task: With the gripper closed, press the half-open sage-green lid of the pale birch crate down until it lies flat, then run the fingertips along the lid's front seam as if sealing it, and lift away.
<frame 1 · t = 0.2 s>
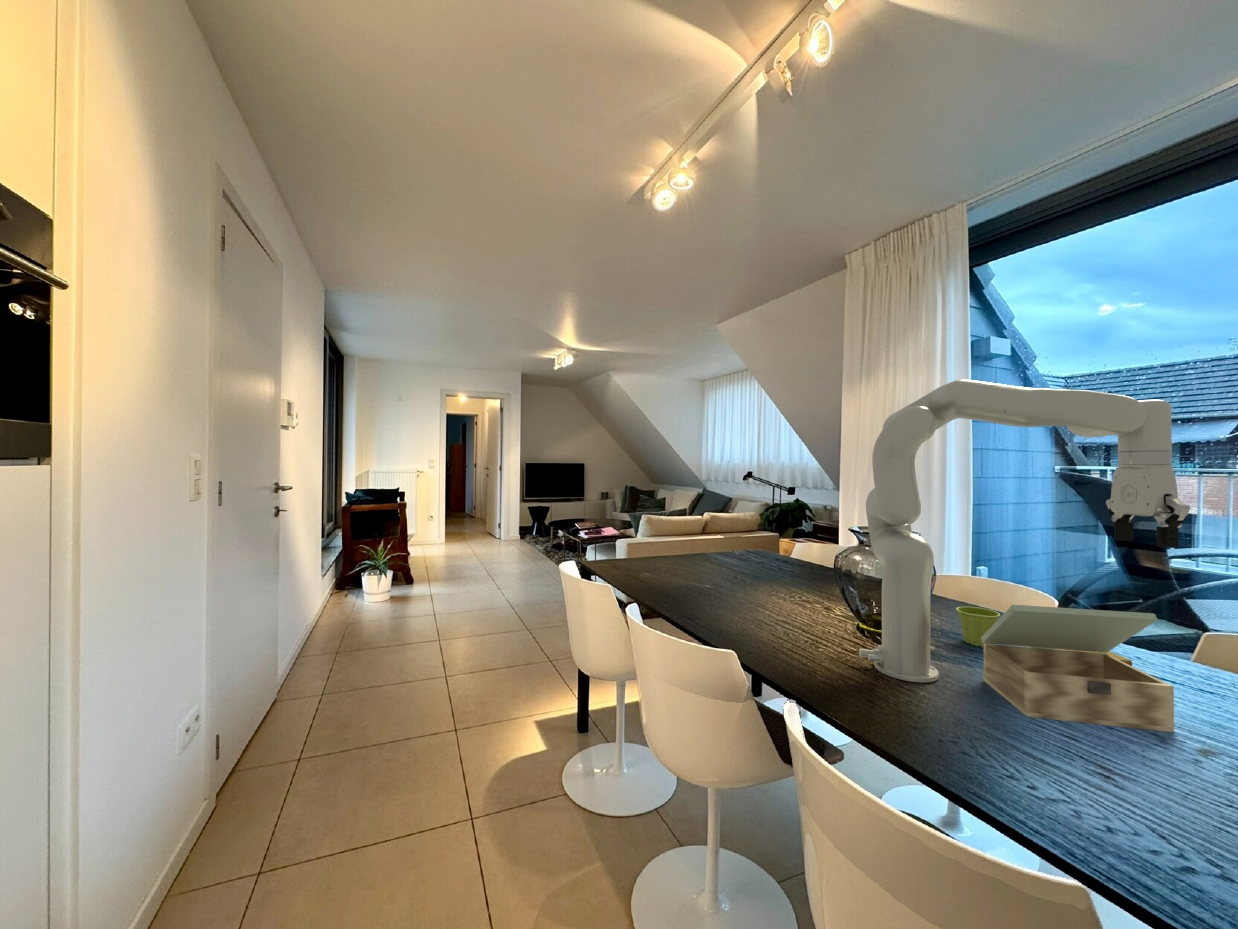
hand: (1144, 543, 99), 31 cm above the table, tool pointing down, fingers open, 9 cm apart
plant pot: (977, 644, 128), on the table
lid: (1061, 629, 97), point 14 cm above the table, hinge at 40.0°
crate: (1068, 703, 95), on the table
carton: (1079, 671, 112), on the table
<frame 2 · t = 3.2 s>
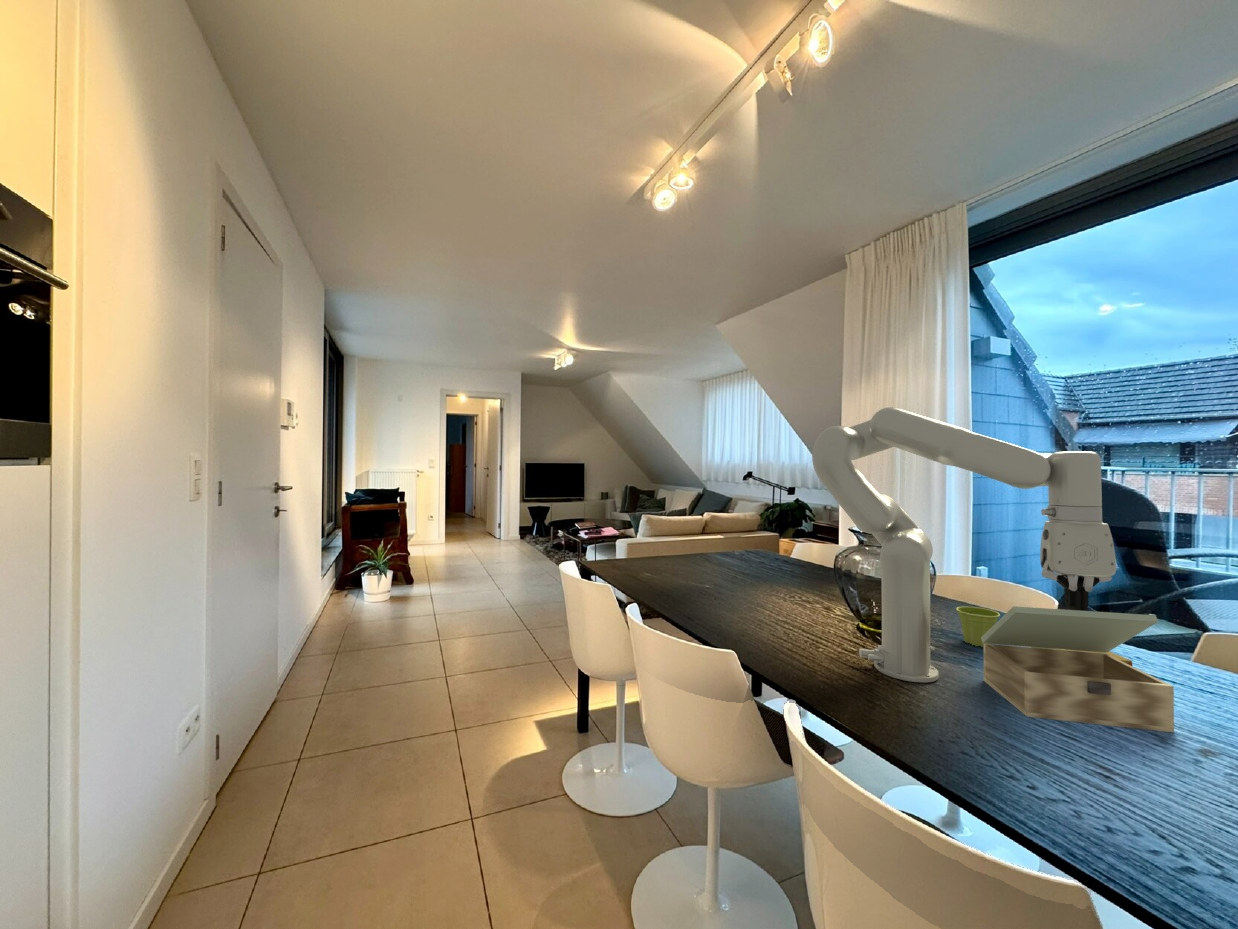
hand: (1076, 610, 93), 19 cm above the table, tool pointing down, fingers closed
lid: (1061, 630, 97), point 14 cm above the table, hinge at 38.7°
everything else where it was.
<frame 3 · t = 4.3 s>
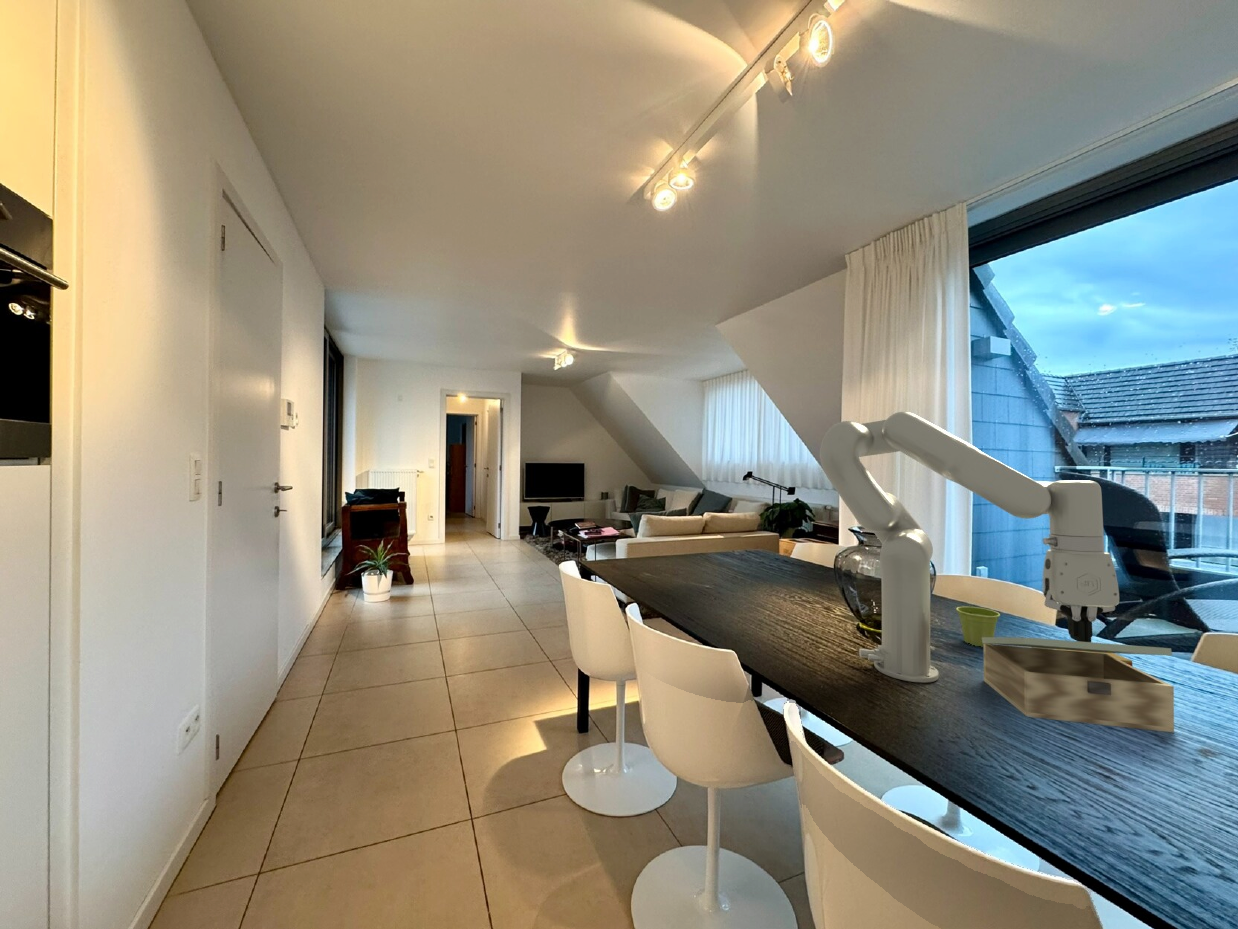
hand: (1080, 640, 93), 13 cm above the table, tool pointing down, fingers closed
lid: (1066, 645, 95), point 11 cm above the table, hinge at 18.2°, touching gripper
everything else where it was.
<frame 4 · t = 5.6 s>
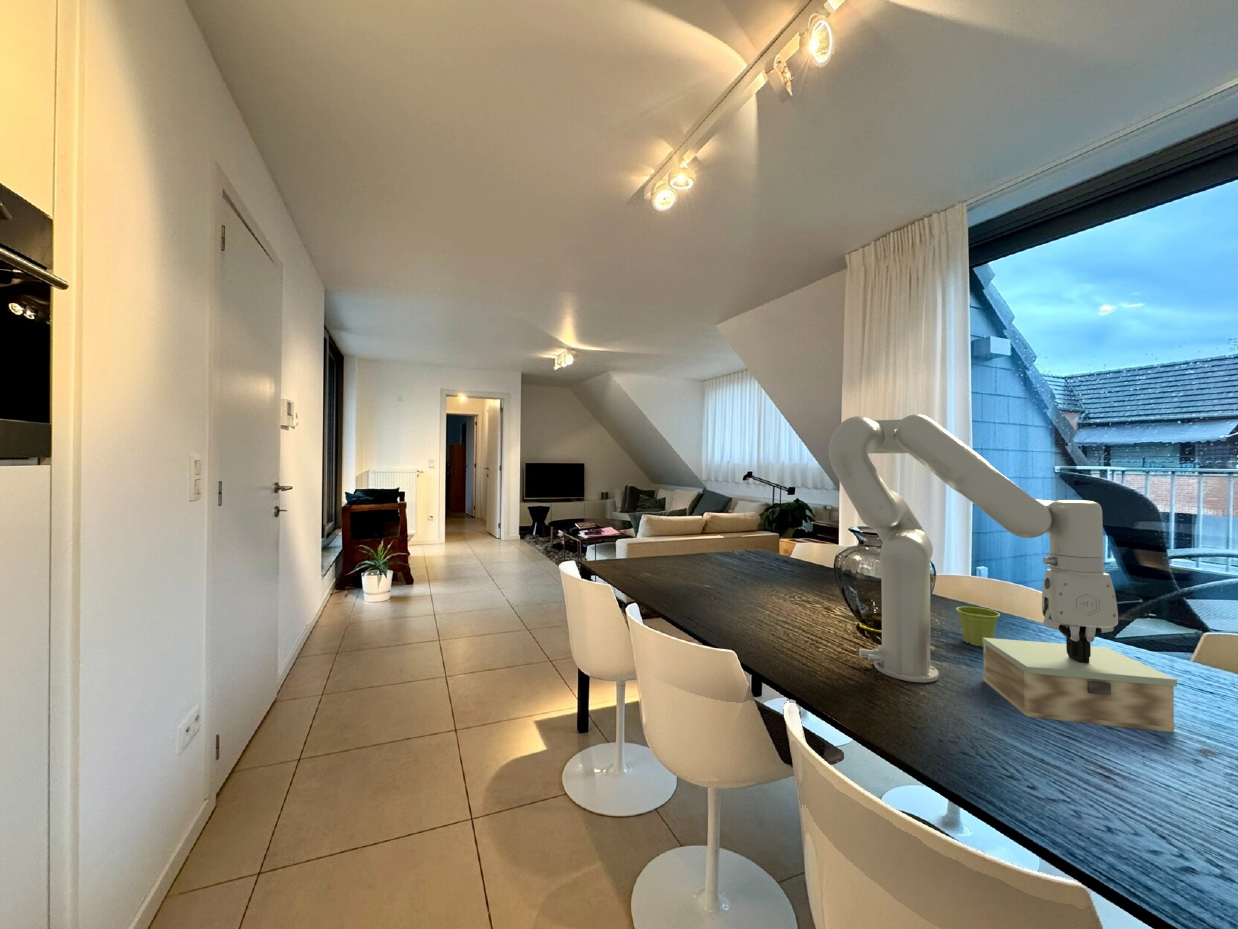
hand: (1078, 660, 93), 9 cm above the table, tool pointing down, fingers closed
lid: (1068, 659, 95), point 9 cm above the table, hinge at 0.3°, touching gripper
everything else where it was.
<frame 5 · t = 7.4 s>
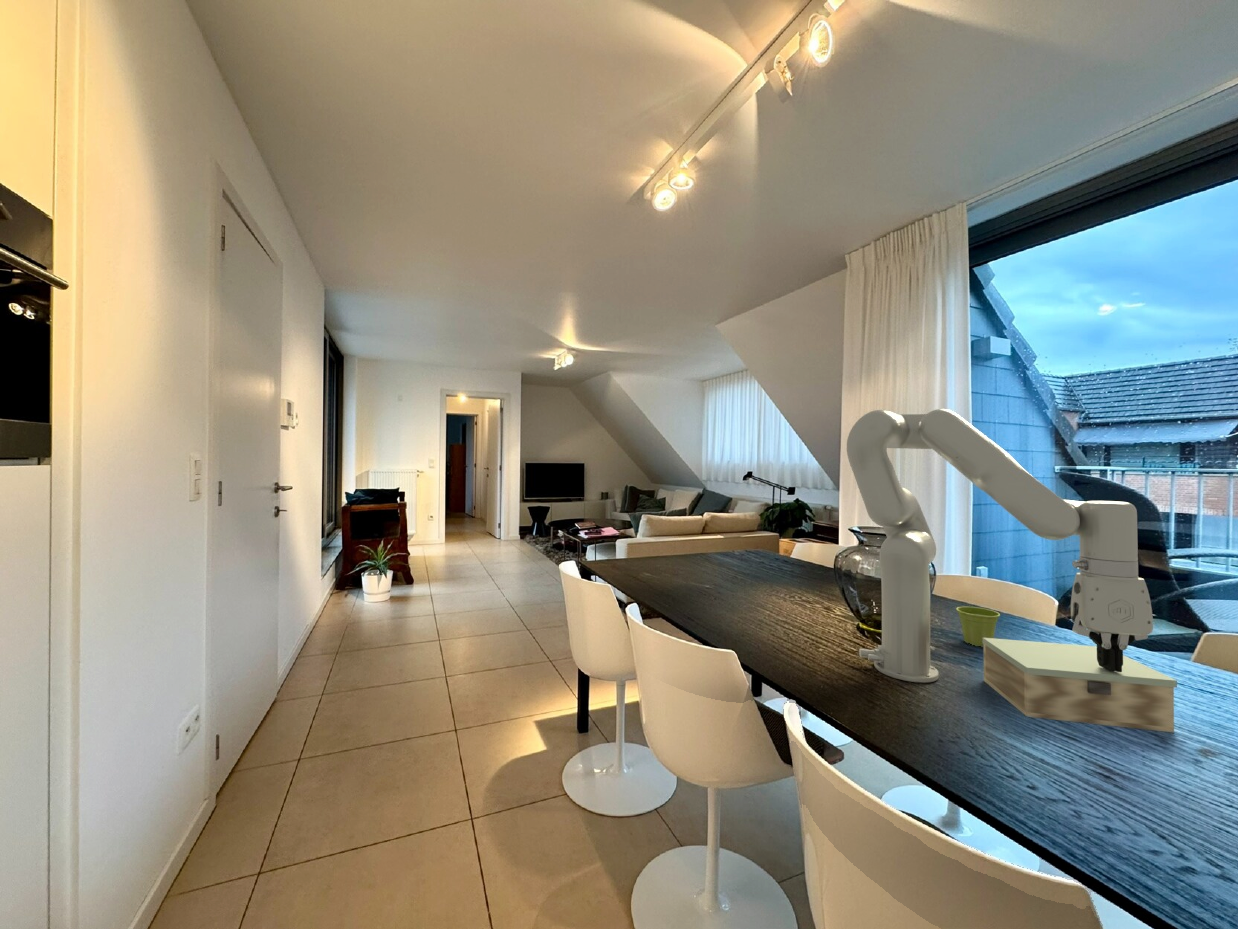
hand: (1110, 668, 88), 10 cm above the table, tool pointing down, fingers closed
lid: (1068, 659, 95), point 9 cm above the table, hinge at -0.4°, touching crate
everything else where it was.
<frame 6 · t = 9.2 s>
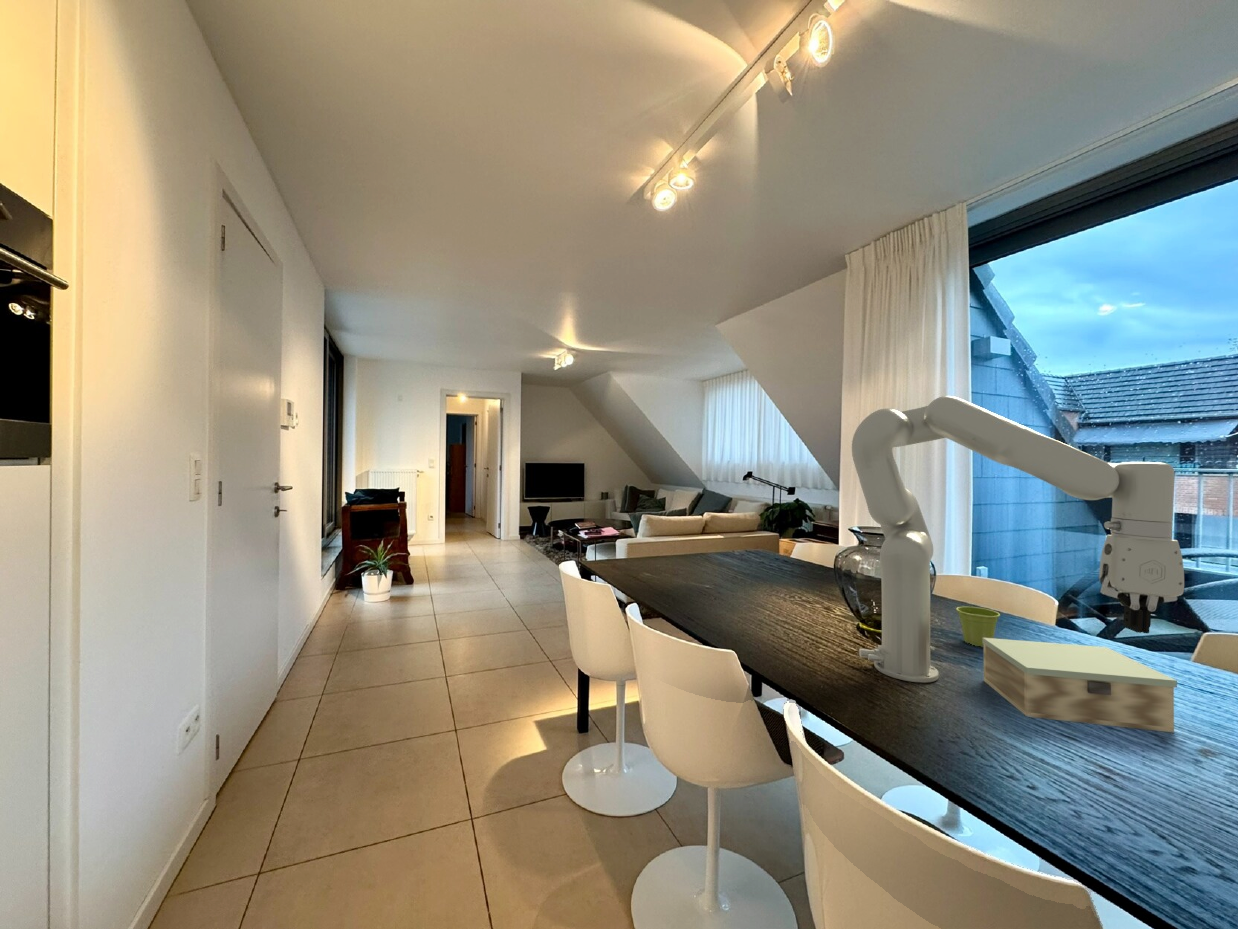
hand: (1136, 630, 88), 17 cm above the table, tool pointing down, fingers closed
nothing on the table moved.
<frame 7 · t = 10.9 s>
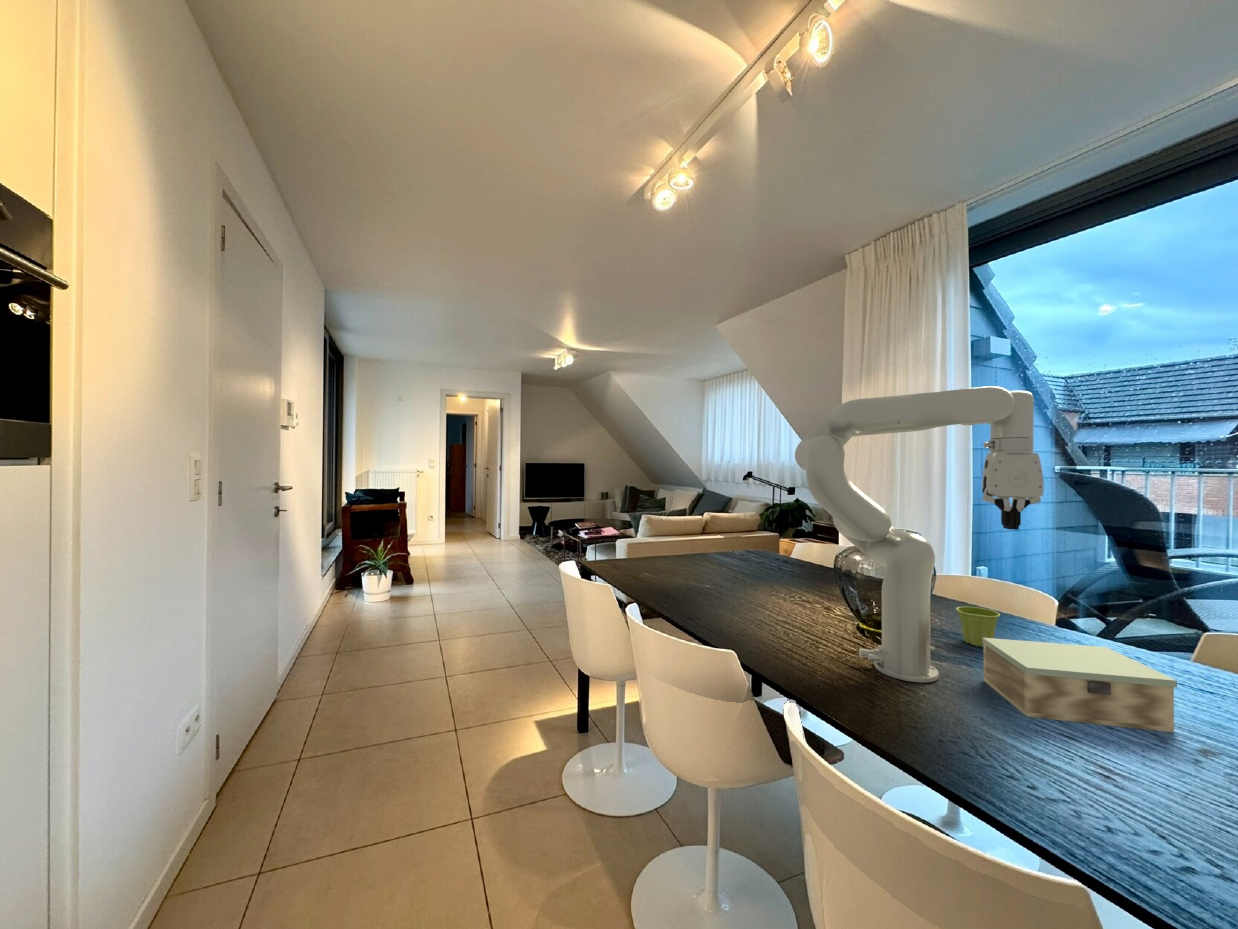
hand: (1010, 528, 108), 33 cm above the table, tool pointing down, fingers closed
nothing on the table moved.
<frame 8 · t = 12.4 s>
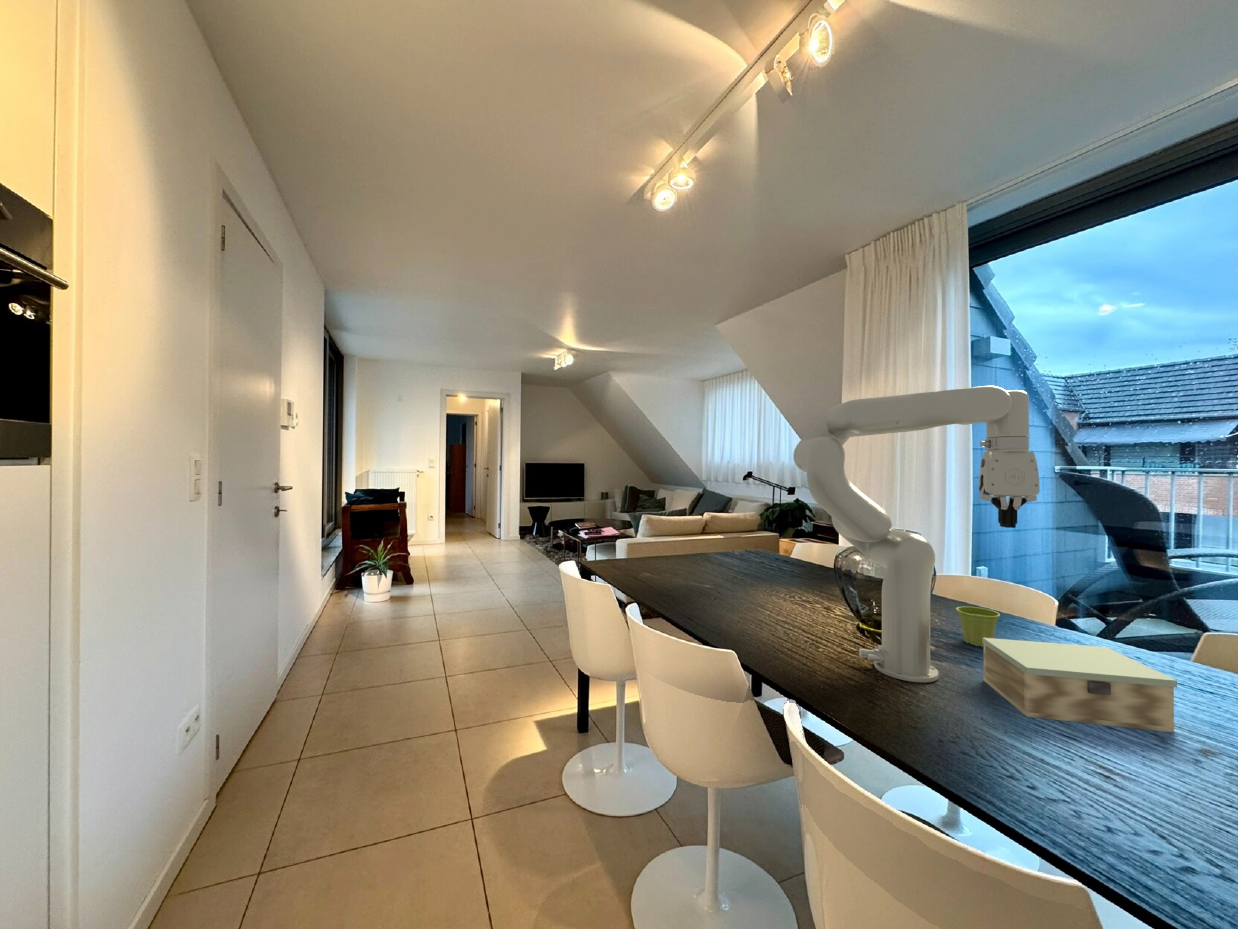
hand: (1007, 527, 109), 33 cm above the table, tool pointing down, fingers closed
nothing on the table moved.
at the end: lid at +0° (first picture: +40°) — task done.
